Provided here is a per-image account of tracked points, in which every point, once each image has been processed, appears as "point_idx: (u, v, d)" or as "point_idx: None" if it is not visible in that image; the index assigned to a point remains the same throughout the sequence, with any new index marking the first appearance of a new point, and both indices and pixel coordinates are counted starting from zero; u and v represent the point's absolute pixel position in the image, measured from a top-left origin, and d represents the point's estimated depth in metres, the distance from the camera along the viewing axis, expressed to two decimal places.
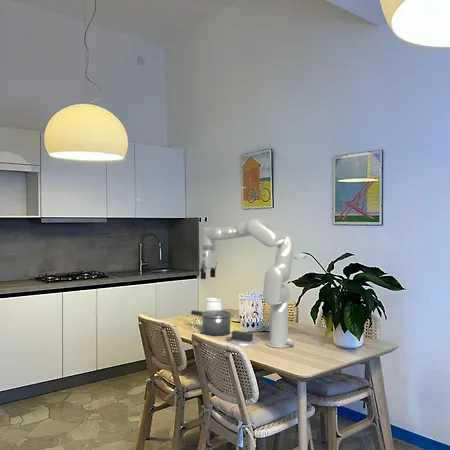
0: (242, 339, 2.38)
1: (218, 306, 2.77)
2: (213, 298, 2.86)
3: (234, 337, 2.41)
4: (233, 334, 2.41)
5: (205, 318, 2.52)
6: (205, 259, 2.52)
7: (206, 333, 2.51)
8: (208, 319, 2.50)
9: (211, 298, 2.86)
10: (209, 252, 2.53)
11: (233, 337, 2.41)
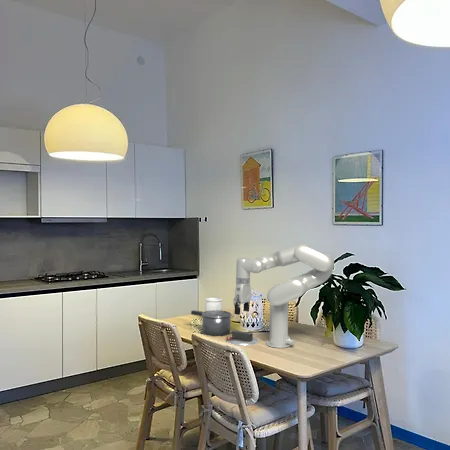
0: (242, 339, 2.38)
1: (218, 306, 2.77)
2: (213, 298, 2.86)
3: (234, 337, 2.41)
4: (233, 334, 2.41)
5: (205, 318, 2.52)
6: (240, 293, 2.35)
7: (206, 333, 2.51)
8: (208, 319, 2.50)
9: (211, 298, 2.86)
10: (244, 285, 2.36)
11: (233, 337, 2.41)
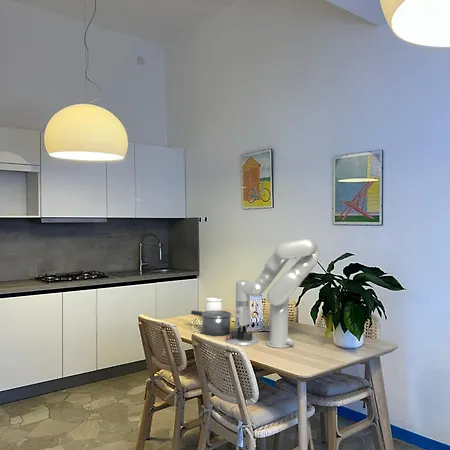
0: None
1: (218, 306, 2.77)
2: (213, 298, 2.86)
3: (234, 336, 2.41)
4: (233, 333, 2.41)
5: (205, 318, 2.52)
6: (239, 316, 2.35)
7: (206, 333, 2.51)
8: (208, 319, 2.50)
9: (211, 298, 2.86)
10: (244, 308, 2.36)
11: (233, 336, 2.41)
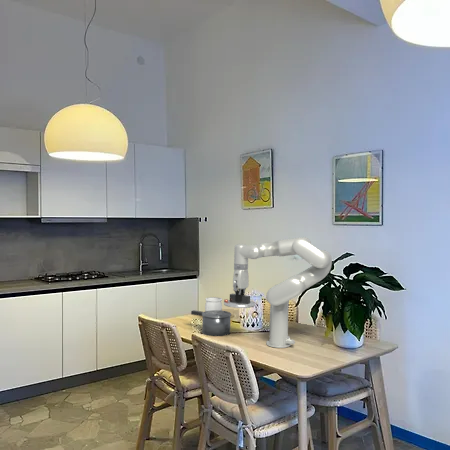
0: None
1: (218, 306, 2.77)
2: (213, 298, 2.86)
3: (232, 300, 2.42)
4: (231, 297, 2.42)
5: (205, 318, 2.52)
6: (238, 279, 2.36)
7: (206, 333, 2.51)
8: (208, 319, 2.50)
9: (211, 298, 2.86)
10: (242, 271, 2.37)
11: (231, 300, 2.42)
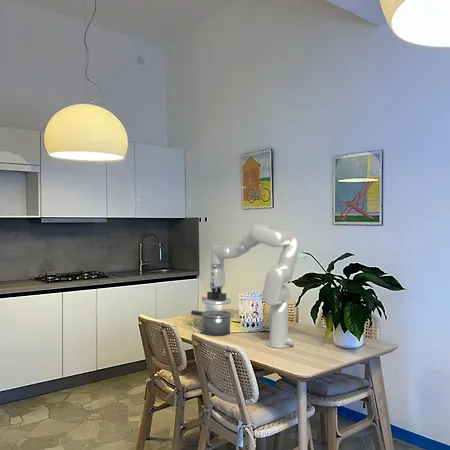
0: (216, 299, 2.55)
1: (218, 306, 2.77)
2: None
3: (209, 297, 2.57)
4: (208, 294, 2.58)
5: (205, 318, 2.52)
6: (214, 278, 2.51)
7: (206, 333, 2.51)
8: (208, 319, 2.50)
9: None
10: (218, 270, 2.53)
11: (208, 297, 2.58)
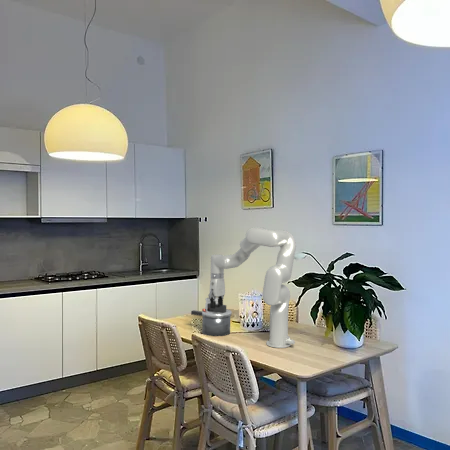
0: (216, 310, 2.55)
1: None
2: (213, 298, 2.86)
3: (209, 309, 2.57)
4: (208, 306, 2.58)
5: (205, 318, 2.52)
6: (214, 287, 2.52)
7: (206, 333, 2.51)
8: (208, 319, 2.50)
9: None
10: (218, 280, 2.53)
11: (208, 309, 2.58)
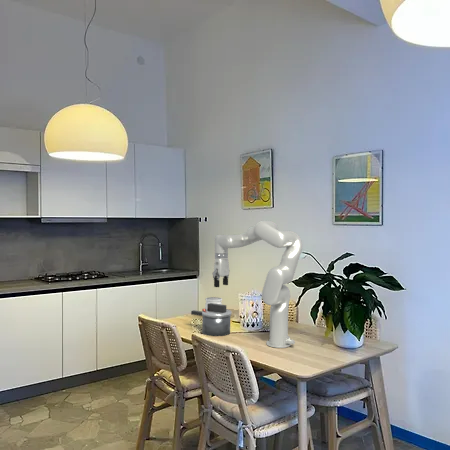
0: (216, 310, 2.55)
1: None
2: (213, 298, 2.86)
3: (209, 309, 2.57)
4: (208, 306, 2.58)
5: (205, 318, 2.52)
6: (218, 267, 2.52)
7: (206, 333, 2.51)
8: (208, 319, 2.50)
9: (211, 298, 2.86)
10: (222, 260, 2.53)
11: (208, 309, 2.58)
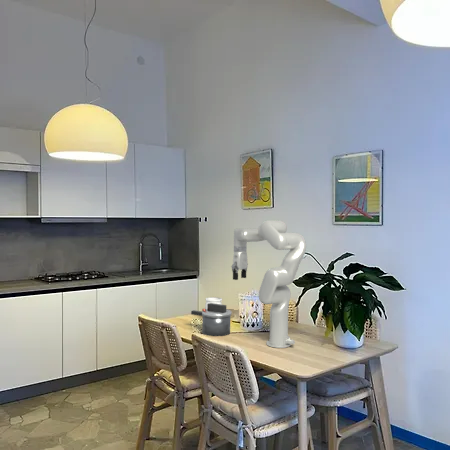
0: (216, 310, 2.55)
1: None
2: (213, 298, 2.86)
3: (209, 309, 2.57)
4: (208, 306, 2.58)
5: (205, 318, 2.52)
6: (237, 260, 2.57)
7: (206, 333, 2.51)
8: (208, 319, 2.50)
9: (211, 298, 2.86)
10: (241, 253, 2.58)
11: (208, 309, 2.58)
